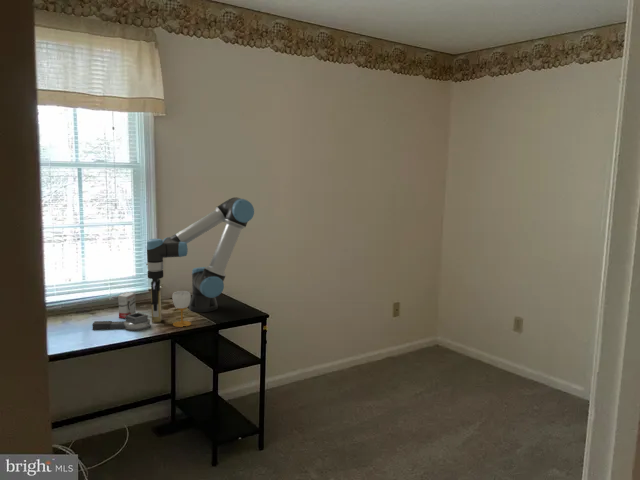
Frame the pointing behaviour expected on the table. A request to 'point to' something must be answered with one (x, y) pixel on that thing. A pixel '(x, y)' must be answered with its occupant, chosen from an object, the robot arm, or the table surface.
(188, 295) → the cup
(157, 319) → the gold square rod
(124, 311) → the ink box
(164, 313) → the table surface
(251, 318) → the table surface
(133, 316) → the ratchet
